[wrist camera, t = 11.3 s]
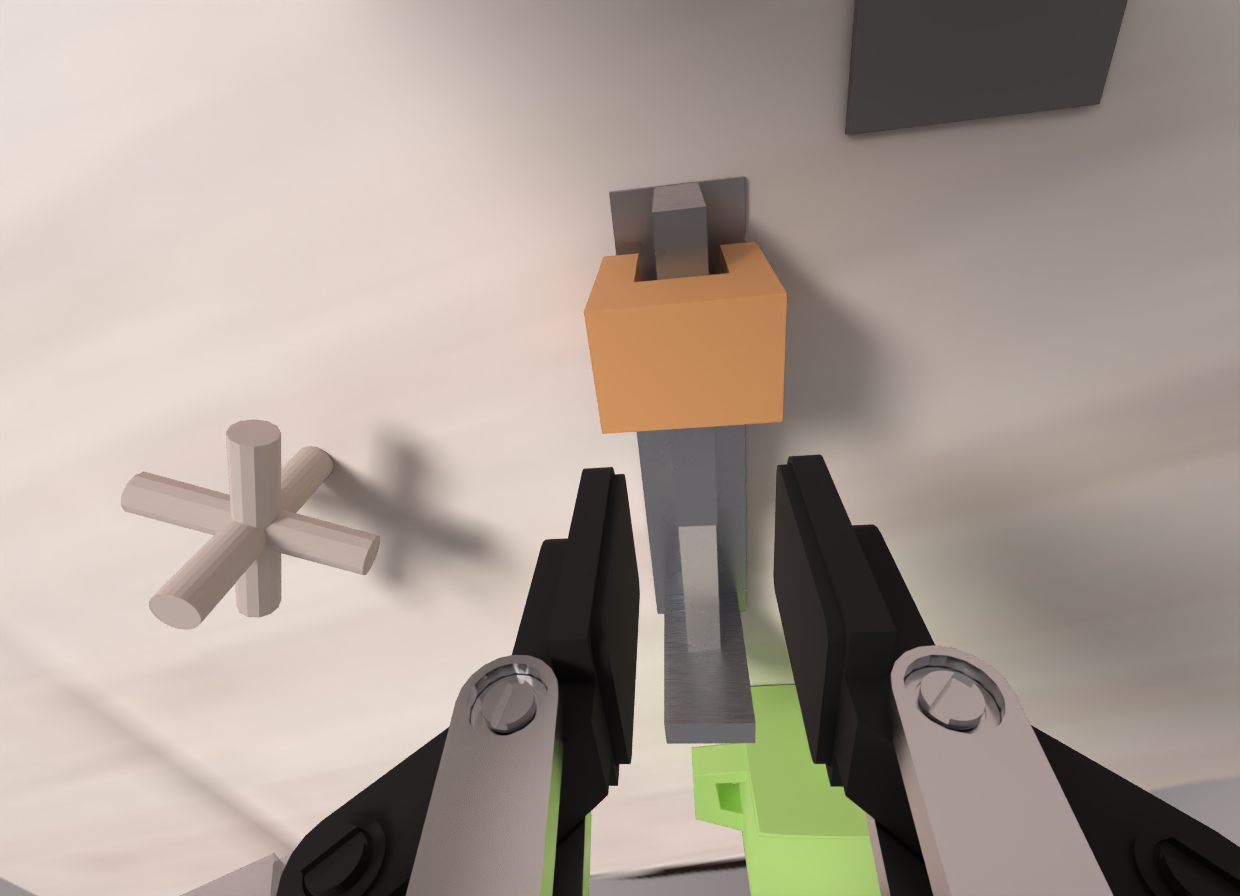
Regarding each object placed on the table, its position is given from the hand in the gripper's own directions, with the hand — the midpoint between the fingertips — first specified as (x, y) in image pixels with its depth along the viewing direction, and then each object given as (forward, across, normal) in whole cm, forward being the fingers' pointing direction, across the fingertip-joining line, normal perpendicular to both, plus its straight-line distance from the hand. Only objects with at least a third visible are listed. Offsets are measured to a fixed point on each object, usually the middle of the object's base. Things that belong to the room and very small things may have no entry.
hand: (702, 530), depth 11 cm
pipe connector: (+15, +19, +7) cm, 25 cm away
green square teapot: (+15, -8, +28) cm, 33 cm away
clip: (+14, 0, 0) cm, 14 cm away
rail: (+15, 0, +7) cm, 17 cm away
